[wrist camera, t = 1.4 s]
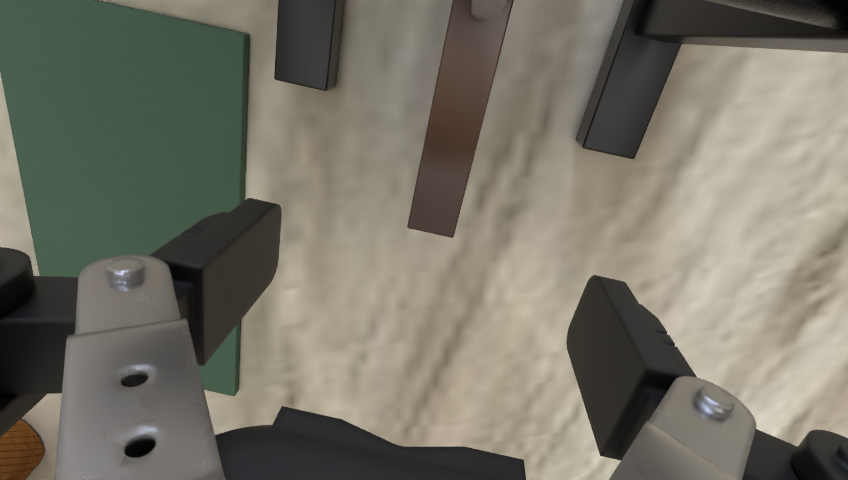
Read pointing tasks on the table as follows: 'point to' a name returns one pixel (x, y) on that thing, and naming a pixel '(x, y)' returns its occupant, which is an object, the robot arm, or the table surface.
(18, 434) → the disposable coffee cup
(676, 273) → the table surface
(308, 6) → the rail stand
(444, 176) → the brown bar with hook
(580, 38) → the table surface
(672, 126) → the table surface
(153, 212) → the mat
